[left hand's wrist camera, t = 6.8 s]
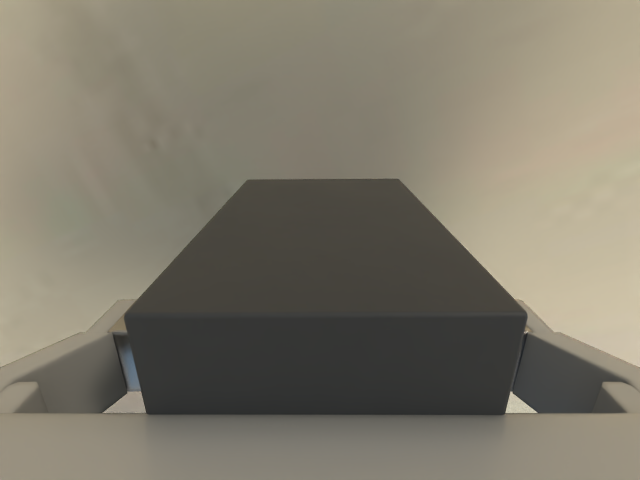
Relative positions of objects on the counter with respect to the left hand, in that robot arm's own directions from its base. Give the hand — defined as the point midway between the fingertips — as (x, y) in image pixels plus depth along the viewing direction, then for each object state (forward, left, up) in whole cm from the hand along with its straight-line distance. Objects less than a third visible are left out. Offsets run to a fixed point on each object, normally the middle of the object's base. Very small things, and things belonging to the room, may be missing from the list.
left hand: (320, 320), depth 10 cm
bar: (+9, 0, -4) cm, 10 cm away
